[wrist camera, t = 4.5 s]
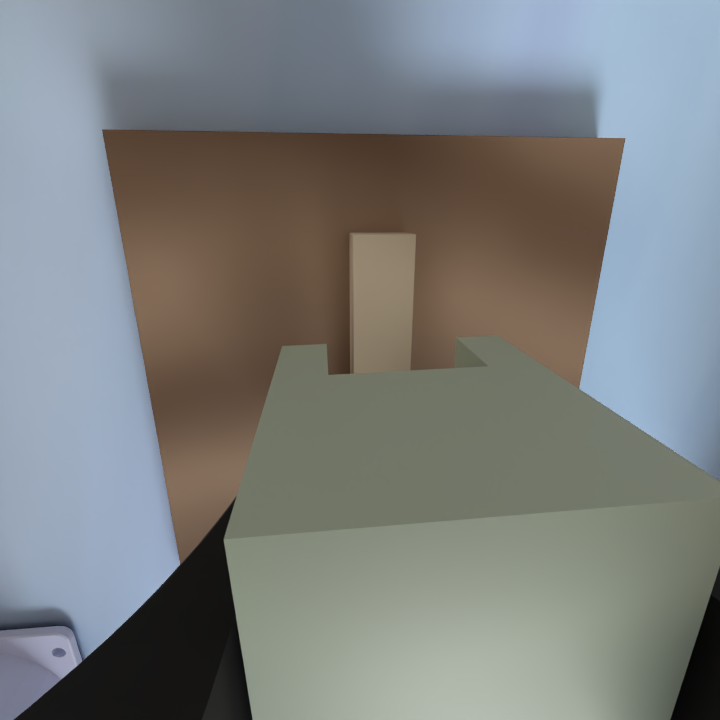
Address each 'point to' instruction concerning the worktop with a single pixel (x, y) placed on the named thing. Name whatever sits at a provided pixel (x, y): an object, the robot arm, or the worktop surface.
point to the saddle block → (464, 547)
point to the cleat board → (342, 268)
